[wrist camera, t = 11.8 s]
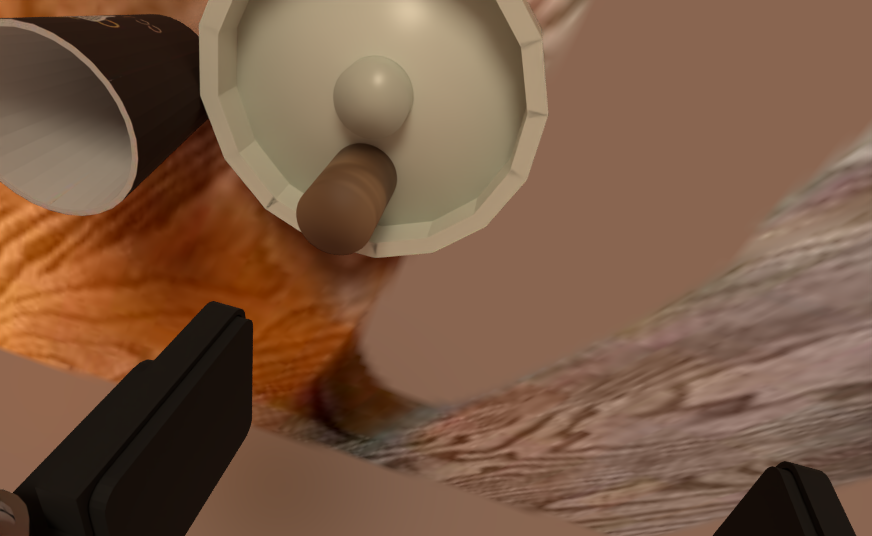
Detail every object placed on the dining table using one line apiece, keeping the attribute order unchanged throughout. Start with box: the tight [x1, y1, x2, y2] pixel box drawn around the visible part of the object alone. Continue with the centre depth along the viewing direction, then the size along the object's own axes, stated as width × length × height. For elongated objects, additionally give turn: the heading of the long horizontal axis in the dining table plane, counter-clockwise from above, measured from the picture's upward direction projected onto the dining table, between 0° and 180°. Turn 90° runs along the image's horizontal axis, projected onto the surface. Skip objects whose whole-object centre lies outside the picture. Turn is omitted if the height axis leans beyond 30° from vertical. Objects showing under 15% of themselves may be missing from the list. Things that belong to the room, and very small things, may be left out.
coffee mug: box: [0, 14, 209, 216], centre depth 29 cm, size 12×9×10 cm
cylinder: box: [296, 143, 397, 255], centre depth 31 cm, size 4×4×6 cm
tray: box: [199, 0, 548, 258], centre depth 30 cm, size 18×18×3 cm
